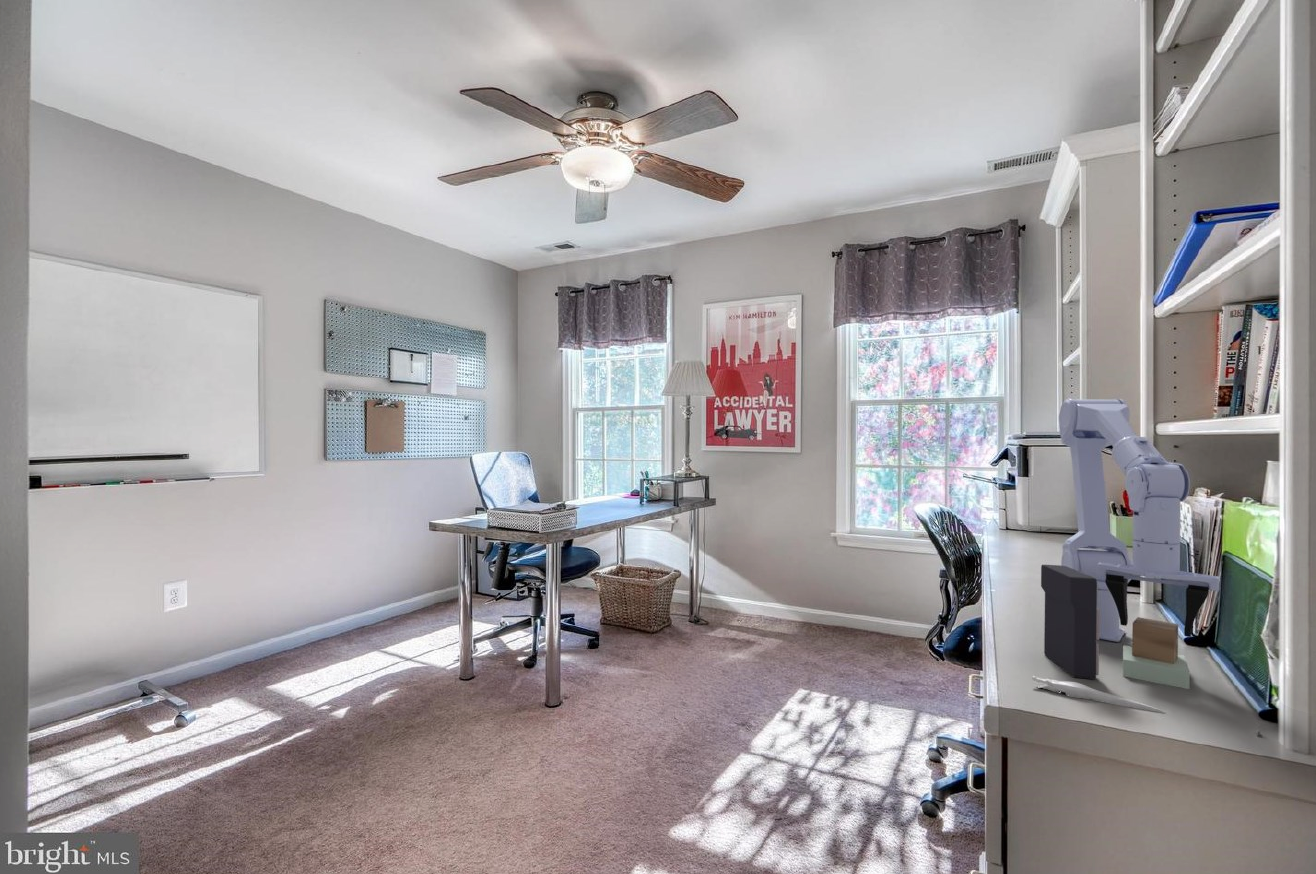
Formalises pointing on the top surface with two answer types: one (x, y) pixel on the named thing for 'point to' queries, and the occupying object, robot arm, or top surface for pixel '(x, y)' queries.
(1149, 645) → the walnut cube
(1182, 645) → the top surface
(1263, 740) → the top surface
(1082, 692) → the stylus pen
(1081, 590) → the calculator
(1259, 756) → the top surface
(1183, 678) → the block
